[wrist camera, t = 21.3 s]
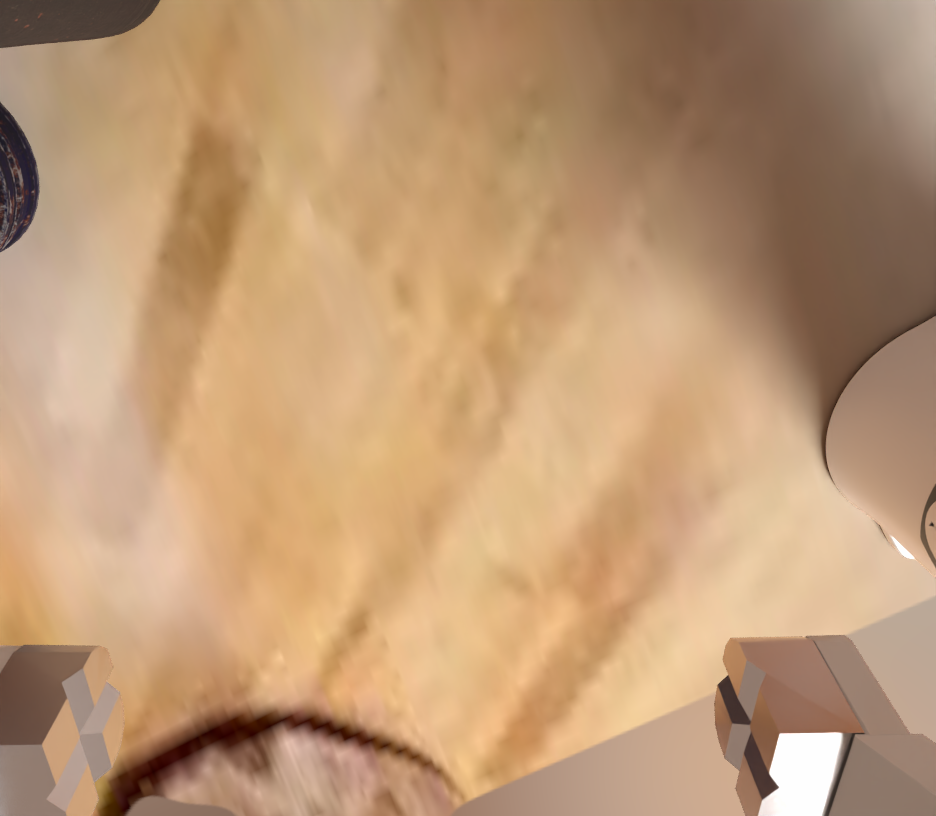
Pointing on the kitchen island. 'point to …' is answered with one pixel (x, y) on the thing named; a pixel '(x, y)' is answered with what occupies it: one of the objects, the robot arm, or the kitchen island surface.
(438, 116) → the kitchen island surface
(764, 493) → the kitchen island surface
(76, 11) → the container
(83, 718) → the robot arm
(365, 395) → the kitchen island surface
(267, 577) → the kitchen island surface
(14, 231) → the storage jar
